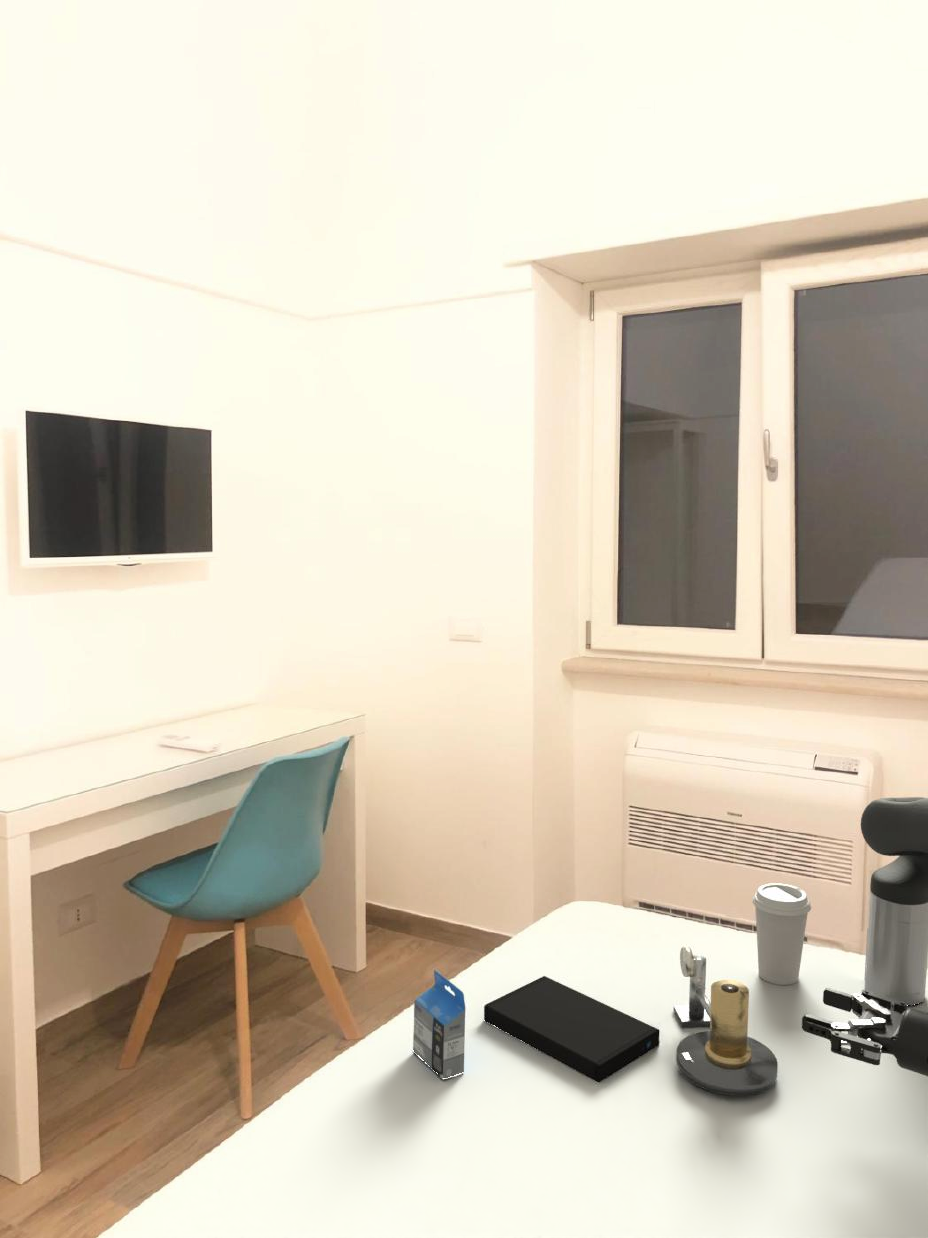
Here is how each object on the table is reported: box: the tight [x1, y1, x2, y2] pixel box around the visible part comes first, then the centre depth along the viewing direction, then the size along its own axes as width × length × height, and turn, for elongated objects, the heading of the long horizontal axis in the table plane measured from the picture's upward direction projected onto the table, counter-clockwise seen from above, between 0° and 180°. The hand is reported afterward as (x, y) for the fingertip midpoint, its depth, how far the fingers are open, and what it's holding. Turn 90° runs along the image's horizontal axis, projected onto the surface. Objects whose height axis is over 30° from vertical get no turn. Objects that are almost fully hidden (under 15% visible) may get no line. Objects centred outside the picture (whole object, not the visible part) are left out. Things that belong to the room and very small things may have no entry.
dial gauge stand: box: [673, 946, 711, 1029], centre depth 159 cm, size 12×6×12 cm, turn 3°
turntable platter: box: [675, 1030, 779, 1096], centre depth 148 cm, size 14×14×2 cm
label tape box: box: [412, 969, 466, 1079], centre depth 150 cm, size 9×4×12 cm, turn 32°
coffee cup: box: [752, 882, 812, 986], centre depth 176 cm, size 10×10×15 cm
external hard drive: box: [483, 975, 660, 1084], centre depth 159 cm, size 14×23×3 cm, turn 43°
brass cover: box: [705, 979, 751, 1069], centre depth 147 cm, size 6×6×10 cm
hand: (813, 1008), depth 140 cm, fingers open, 8 cm apart
